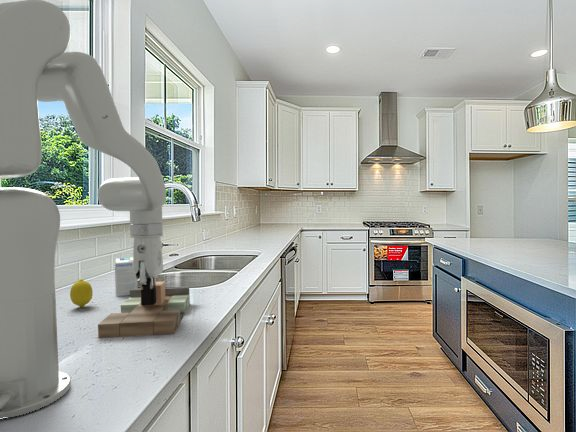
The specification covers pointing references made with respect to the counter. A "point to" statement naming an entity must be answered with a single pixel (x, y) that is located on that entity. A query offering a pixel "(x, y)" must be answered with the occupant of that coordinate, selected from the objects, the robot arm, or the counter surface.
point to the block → (159, 293)
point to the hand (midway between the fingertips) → (148, 304)
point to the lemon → (81, 293)
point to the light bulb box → (124, 276)
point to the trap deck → (146, 315)
